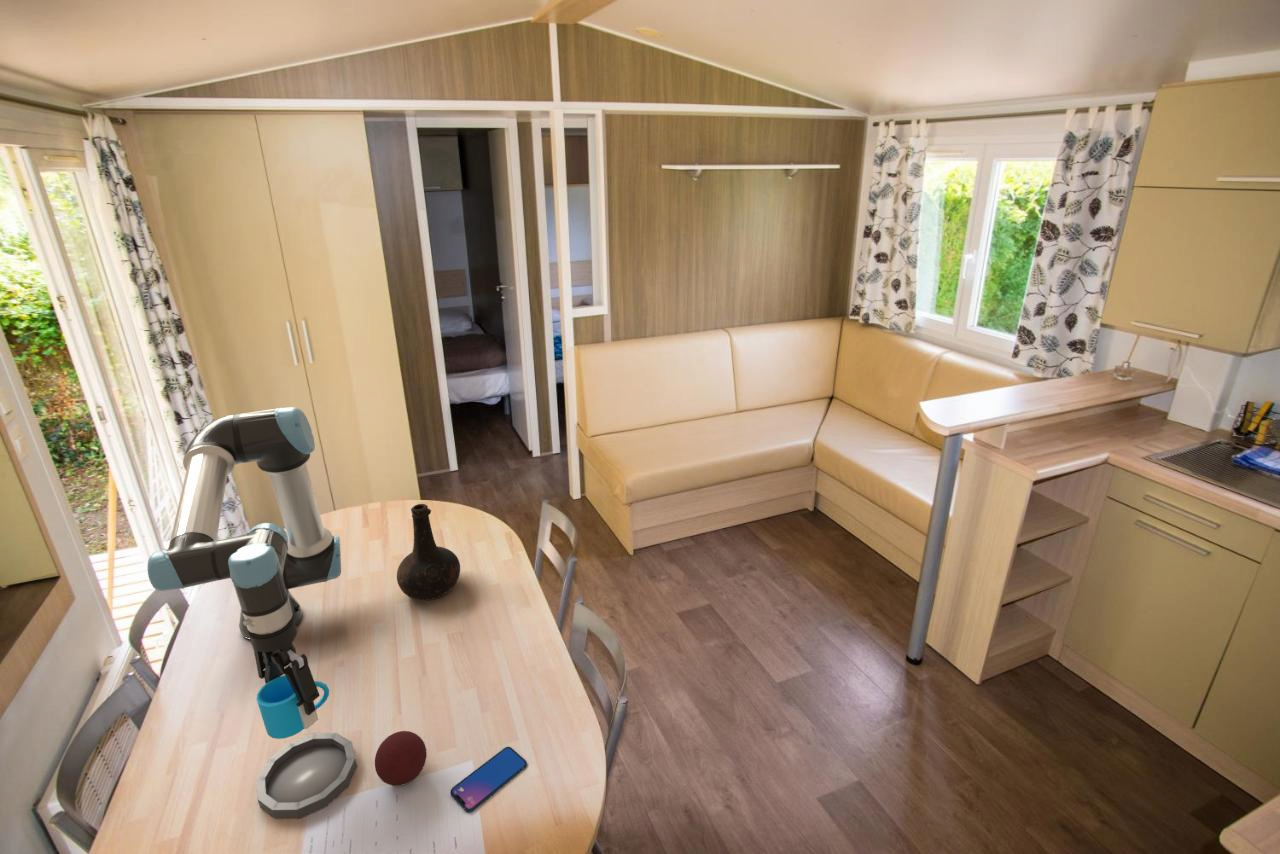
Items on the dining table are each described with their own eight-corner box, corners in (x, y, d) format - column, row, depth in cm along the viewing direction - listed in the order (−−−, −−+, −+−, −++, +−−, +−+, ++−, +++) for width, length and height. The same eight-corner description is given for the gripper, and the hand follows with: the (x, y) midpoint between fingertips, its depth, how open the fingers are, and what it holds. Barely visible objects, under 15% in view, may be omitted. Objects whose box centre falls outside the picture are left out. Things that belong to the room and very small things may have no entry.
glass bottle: (405, 616, 180) (389, 530, 170) (396, 582, 195) (380, 501, 184) (469, 597, 188) (457, 514, 177) (455, 566, 203) (443, 487, 192)
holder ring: (240, 793, 130) (237, 784, 129) (319, 729, 145) (317, 721, 144) (296, 834, 122) (293, 825, 121) (374, 762, 137) (372, 754, 136)
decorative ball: (380, 804, 128) (371, 768, 124) (377, 764, 136) (369, 729, 132) (432, 786, 131) (425, 750, 127) (426, 748, 140) (420, 713, 136)
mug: (268, 745, 122) (258, 713, 119) (264, 717, 128) (254, 685, 125) (336, 717, 128) (328, 685, 125) (329, 691, 135) (321, 661, 132)
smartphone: (529, 763, 136) (468, 813, 125) (529, 766, 136) (469, 816, 126) (508, 744, 140) (447, 790, 130) (508, 747, 140) (448, 793, 130)
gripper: (217, 617, 122) (247, 709, 130) (287, 653, 112) (314, 750, 121) (256, 595, 128) (282, 684, 136) (324, 628, 118) (348, 721, 127)
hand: (297, 715), depth 129 cm, fingers closed on mug, 8 cm apart
